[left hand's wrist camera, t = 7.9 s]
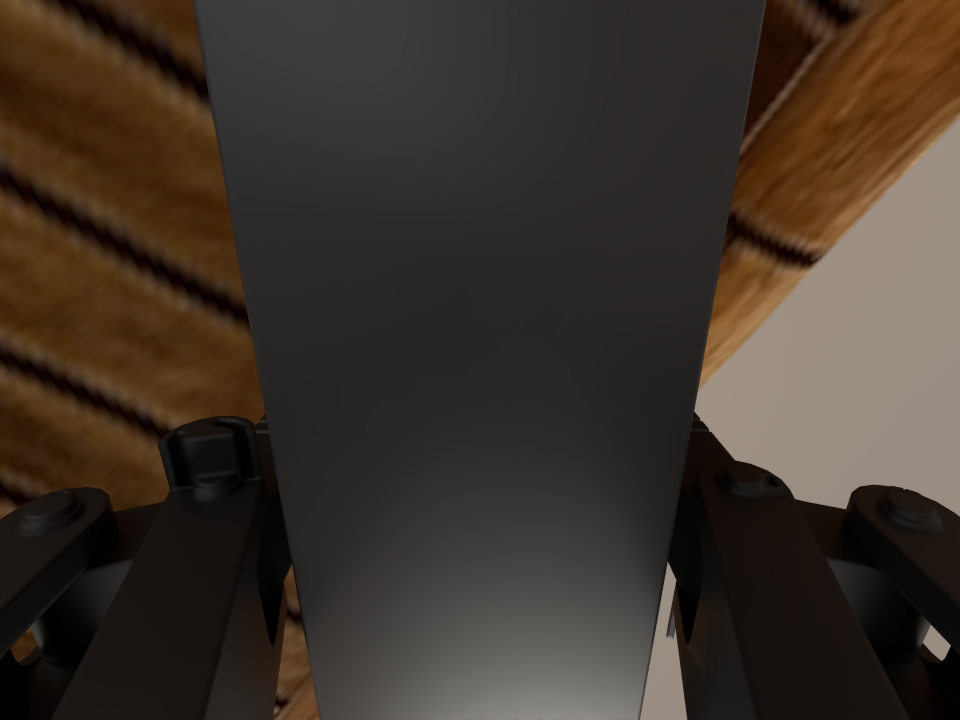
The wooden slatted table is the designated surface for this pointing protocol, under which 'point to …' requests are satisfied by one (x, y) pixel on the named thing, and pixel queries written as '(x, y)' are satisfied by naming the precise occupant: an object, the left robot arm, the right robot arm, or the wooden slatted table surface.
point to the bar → (479, 325)
